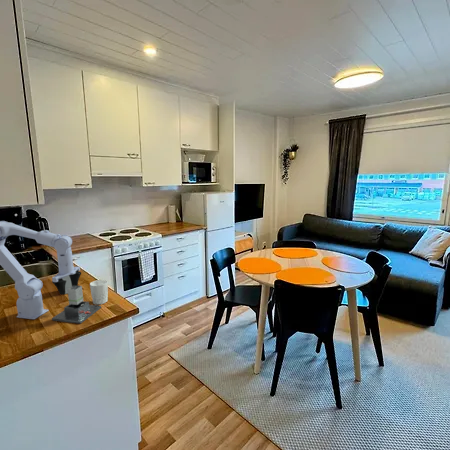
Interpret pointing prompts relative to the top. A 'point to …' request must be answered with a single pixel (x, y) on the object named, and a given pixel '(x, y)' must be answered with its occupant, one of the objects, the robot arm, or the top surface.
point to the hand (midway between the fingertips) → (68, 290)
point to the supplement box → (67, 283)
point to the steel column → (75, 295)
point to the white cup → (99, 291)
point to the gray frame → (76, 312)
